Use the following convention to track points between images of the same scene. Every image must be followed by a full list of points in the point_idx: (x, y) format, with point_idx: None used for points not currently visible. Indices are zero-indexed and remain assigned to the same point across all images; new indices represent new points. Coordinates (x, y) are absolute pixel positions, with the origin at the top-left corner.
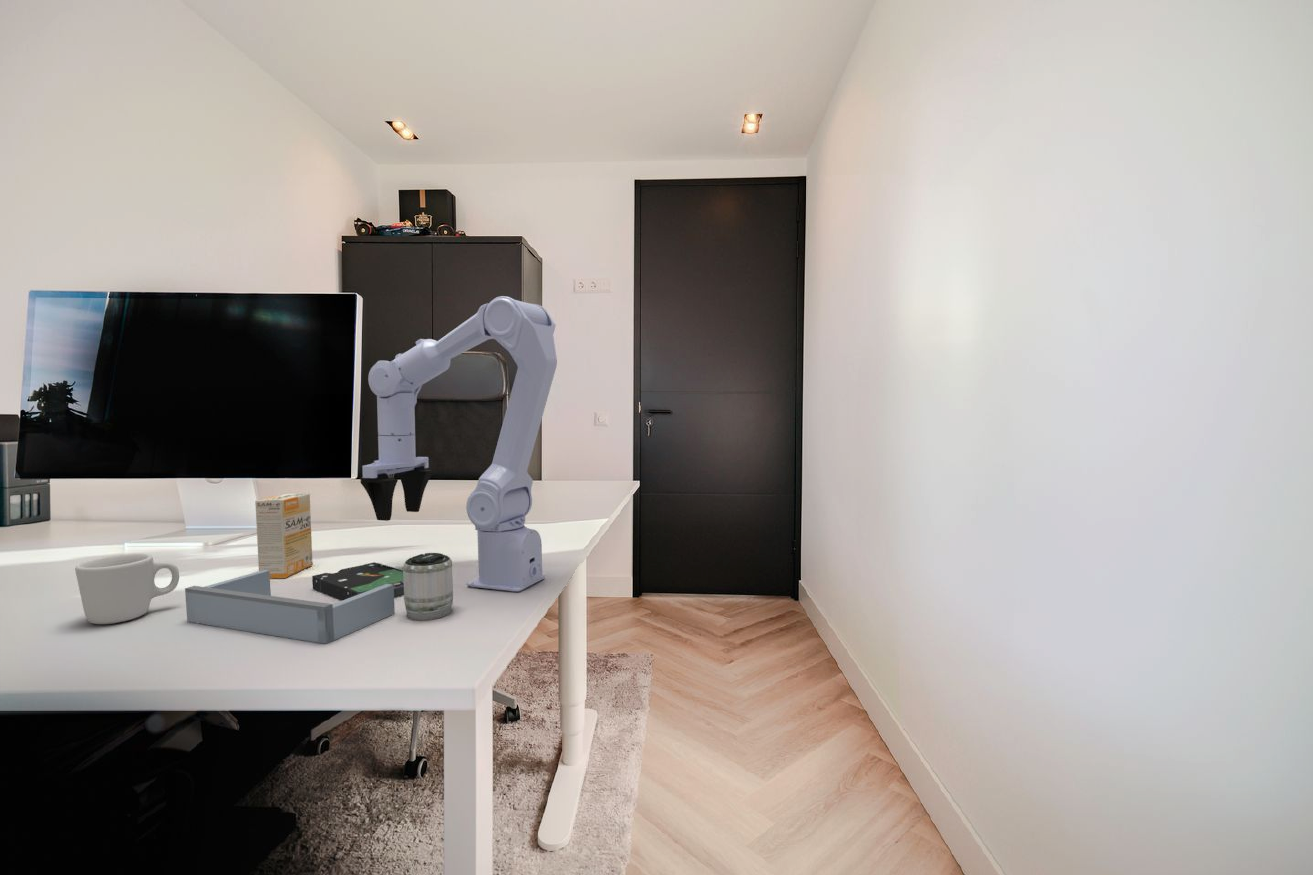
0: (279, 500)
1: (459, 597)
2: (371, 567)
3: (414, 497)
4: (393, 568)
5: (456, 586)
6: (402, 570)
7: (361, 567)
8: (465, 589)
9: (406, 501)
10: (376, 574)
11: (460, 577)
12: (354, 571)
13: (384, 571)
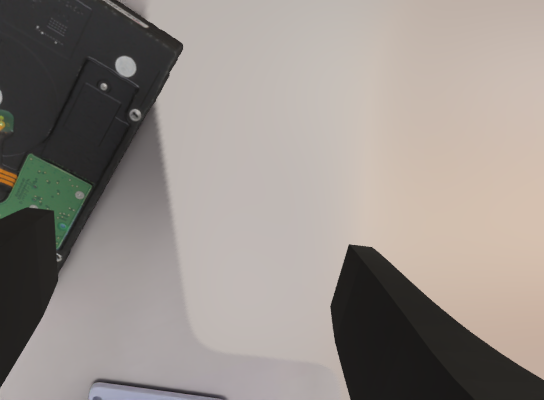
0: None
1: (12, 392)
2: (111, 75)
3: (362, 367)
4: (98, 184)
5: (97, 355)
6: (75, 232)
7: (81, 41)
8: (78, 381)
9: (371, 287)
10: (4, 165)
11: (183, 333)
12: (12, 47)
13: (53, 171)
